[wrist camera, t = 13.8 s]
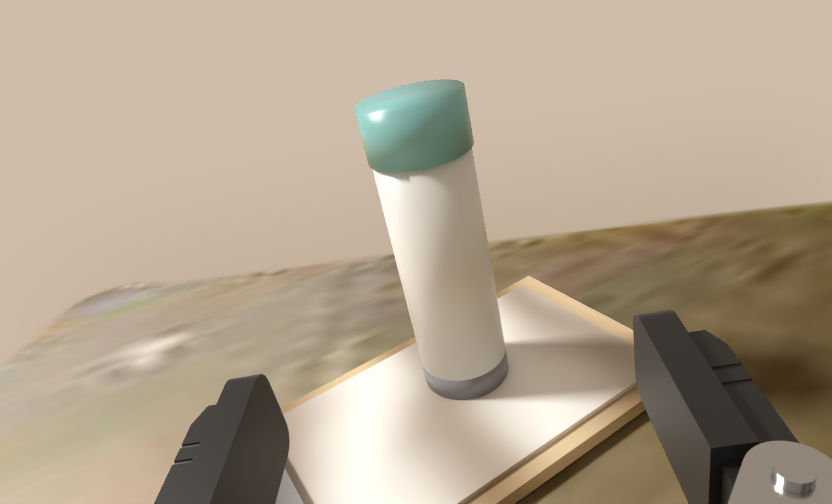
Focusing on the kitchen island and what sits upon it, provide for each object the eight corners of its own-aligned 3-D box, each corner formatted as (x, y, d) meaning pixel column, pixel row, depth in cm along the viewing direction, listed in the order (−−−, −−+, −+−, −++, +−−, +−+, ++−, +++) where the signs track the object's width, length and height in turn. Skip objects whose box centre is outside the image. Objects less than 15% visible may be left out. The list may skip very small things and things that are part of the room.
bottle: (476, 332, 28) (426, 76, 22) (529, 370, 25) (487, 84, 19) (407, 370, 26) (336, 106, 21) (455, 415, 23) (387, 120, 18)
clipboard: (530, 285, 32) (527, 264, 31) (695, 374, 24) (695, 348, 23) (204, 462, 25) (193, 439, 24) (281, 671, 17) (267, 645, 16)
